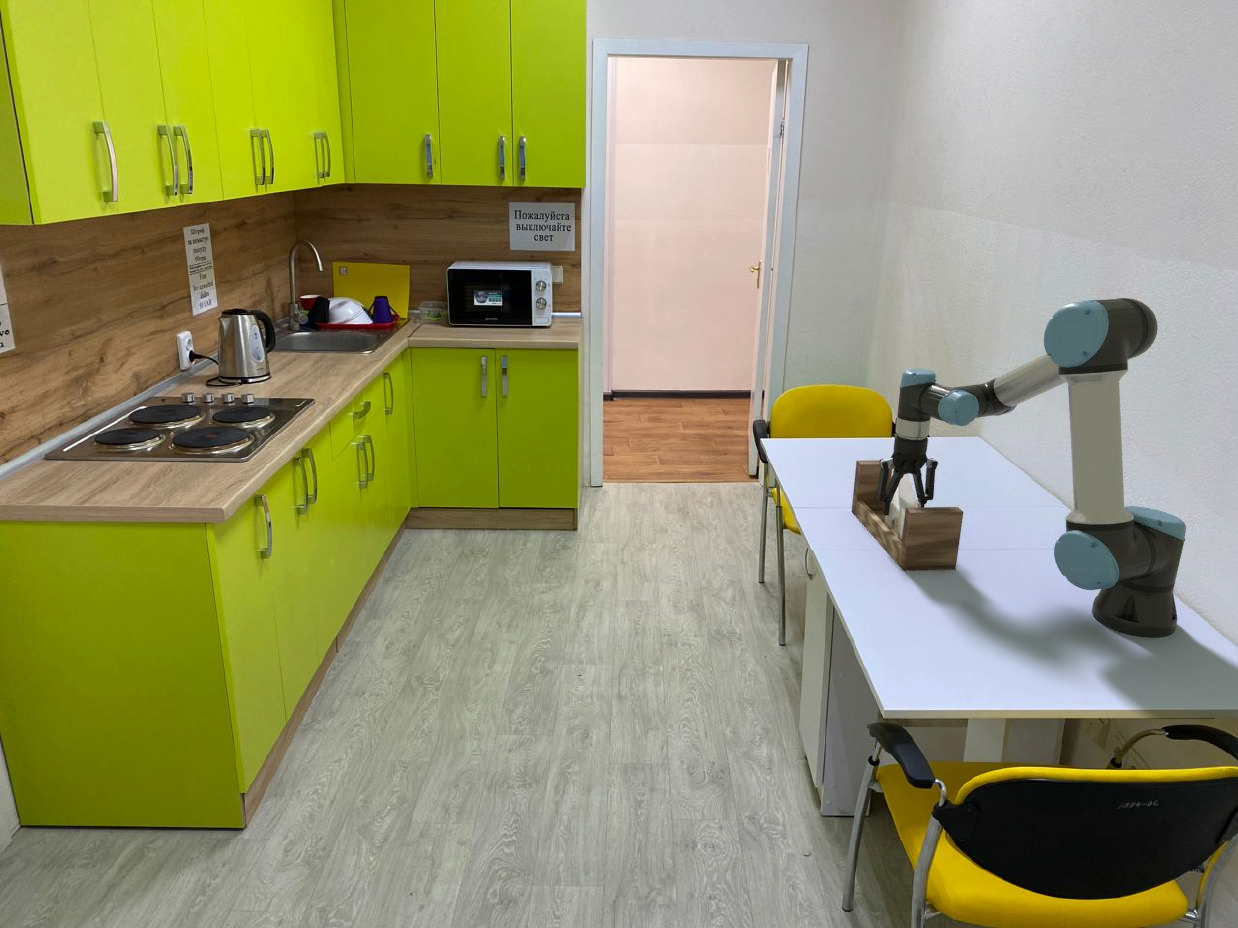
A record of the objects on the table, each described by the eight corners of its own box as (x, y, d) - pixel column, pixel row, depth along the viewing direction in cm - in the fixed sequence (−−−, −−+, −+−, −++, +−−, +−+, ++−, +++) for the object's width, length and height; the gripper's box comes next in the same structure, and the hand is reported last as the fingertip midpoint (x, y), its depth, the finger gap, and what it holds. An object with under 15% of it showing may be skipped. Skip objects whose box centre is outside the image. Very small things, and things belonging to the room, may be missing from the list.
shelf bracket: (905, 502, 244) (912, 461, 237) (915, 565, 224) (923, 523, 217) (883, 501, 245) (890, 460, 238) (891, 564, 225) (898, 521, 218)
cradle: (955, 569, 215) (963, 511, 210) (903, 570, 214) (910, 512, 209) (896, 510, 250) (901, 460, 245) (851, 511, 249) (856, 460, 244)
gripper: (944, 430, 228) (932, 520, 235) (867, 431, 226) (857, 522, 234) (957, 439, 221) (945, 532, 228) (877, 440, 219) (868, 533, 226)
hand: (901, 526), depth 231 cm, fingers closed on shelf bracket, 6 cm apart
